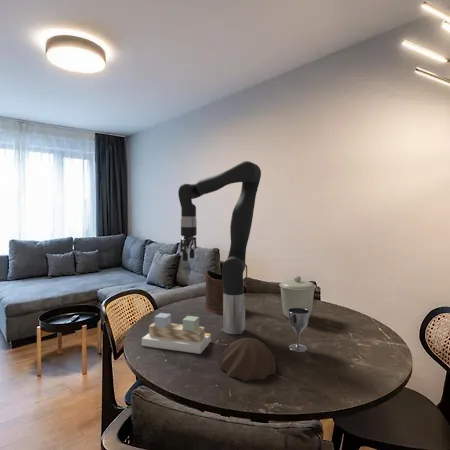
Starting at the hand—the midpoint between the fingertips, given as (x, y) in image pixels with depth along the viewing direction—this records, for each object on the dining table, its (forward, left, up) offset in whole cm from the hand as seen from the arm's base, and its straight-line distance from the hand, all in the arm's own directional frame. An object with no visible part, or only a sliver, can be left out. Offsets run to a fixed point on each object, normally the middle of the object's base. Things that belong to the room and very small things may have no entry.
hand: (188, 259), depth 158 cm
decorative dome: (-37, +36, -31) cm, 60 cm away
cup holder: (-11, -25, -30) cm, 41 cm away
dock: (-6, +26, -30) cm, 40 cm away
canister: (-50, -21, -30) cm, 62 cm away
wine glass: (-53, +16, -30) cm, 63 cm away
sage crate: (-12, +26, -23) cm, 37 cm away
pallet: (-6, +26, -27) cm, 38 cm away
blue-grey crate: (+1, +26, -23) cm, 35 cm away
